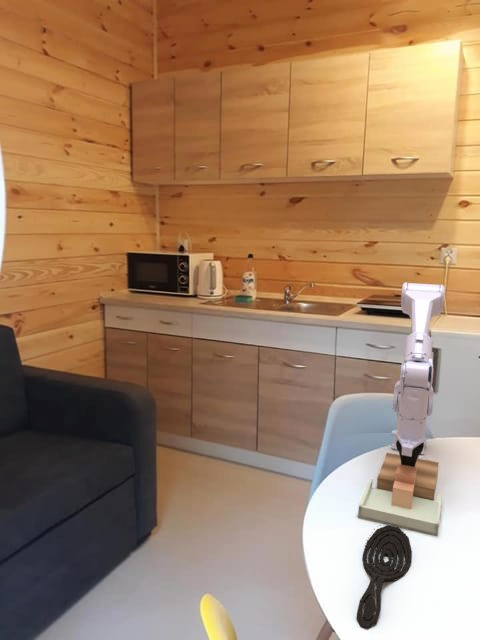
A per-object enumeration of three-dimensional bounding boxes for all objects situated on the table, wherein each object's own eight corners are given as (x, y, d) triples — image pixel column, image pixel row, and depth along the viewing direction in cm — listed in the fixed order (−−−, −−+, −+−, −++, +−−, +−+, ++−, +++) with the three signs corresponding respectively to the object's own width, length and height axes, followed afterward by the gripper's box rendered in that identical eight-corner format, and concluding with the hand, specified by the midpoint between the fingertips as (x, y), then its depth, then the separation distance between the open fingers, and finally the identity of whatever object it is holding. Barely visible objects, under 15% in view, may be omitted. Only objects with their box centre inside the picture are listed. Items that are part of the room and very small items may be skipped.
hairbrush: (337, 606, 82) (372, 516, 104) (336, 626, 83) (371, 532, 104) (393, 625, 78) (417, 527, 100) (391, 646, 79) (415, 545, 101)
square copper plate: (385, 463, 133) (386, 452, 133) (437, 474, 129) (438, 462, 128) (376, 490, 121) (377, 477, 120) (433, 502, 116) (434, 489, 115)
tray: (369, 488, 121) (369, 478, 120) (441, 504, 115) (442, 493, 115) (357, 517, 110) (358, 506, 109) (437, 536, 104) (438, 524, 103)
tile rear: (397, 475, 121) (398, 463, 120) (416, 479, 119) (417, 467, 118) (394, 485, 117) (395, 473, 116) (413, 489, 116) (414, 477, 115)
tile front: (394, 481, 116) (392, 487, 113) (414, 484, 114) (412, 491, 111) (393, 498, 116) (391, 504, 114) (412, 502, 115) (411, 509, 112)
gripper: (397, 401, 125) (393, 456, 128) (388, 423, 112) (383, 484, 115) (430, 406, 122) (424, 462, 125) (424, 429, 109) (418, 491, 112)
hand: (407, 473), depth 120 cm, fingers closed, pressing on tile rear
